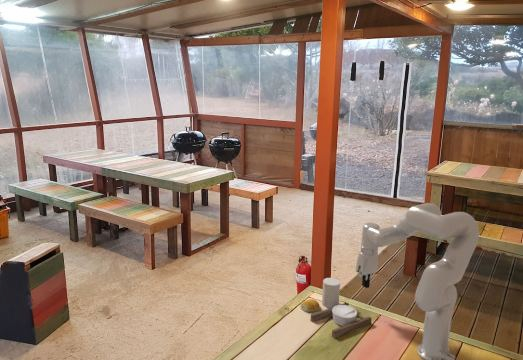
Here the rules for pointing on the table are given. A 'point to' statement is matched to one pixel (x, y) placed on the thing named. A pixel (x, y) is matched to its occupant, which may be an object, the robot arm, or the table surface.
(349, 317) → the ramekin
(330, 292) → the cup
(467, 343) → the table surface
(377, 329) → the table surface
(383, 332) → the table surface
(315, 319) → the walnut open-sided frame
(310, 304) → the bread roll
